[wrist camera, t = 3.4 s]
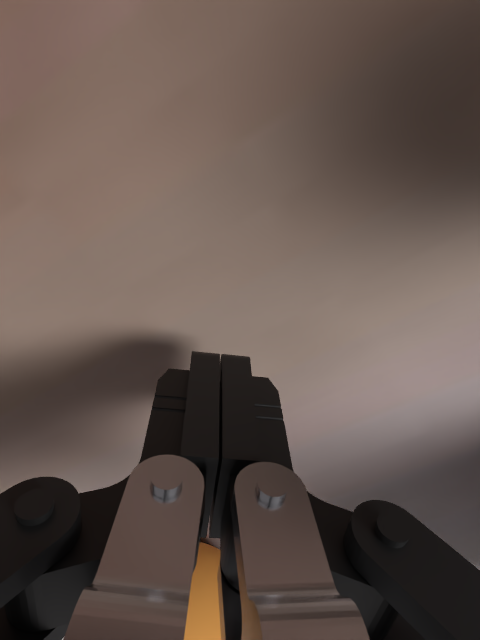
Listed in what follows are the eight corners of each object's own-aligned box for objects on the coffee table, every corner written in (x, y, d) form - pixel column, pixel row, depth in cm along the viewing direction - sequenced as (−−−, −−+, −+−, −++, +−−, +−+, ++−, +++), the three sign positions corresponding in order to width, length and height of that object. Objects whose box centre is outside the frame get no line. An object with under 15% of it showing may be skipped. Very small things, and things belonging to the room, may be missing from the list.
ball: (119, 504, 16) (74, 688, 11) (266, 513, 16) (285, 693, 11) (119, 589, 18) (81, 769, 13) (245, 594, 19) (253, 769, 14)
